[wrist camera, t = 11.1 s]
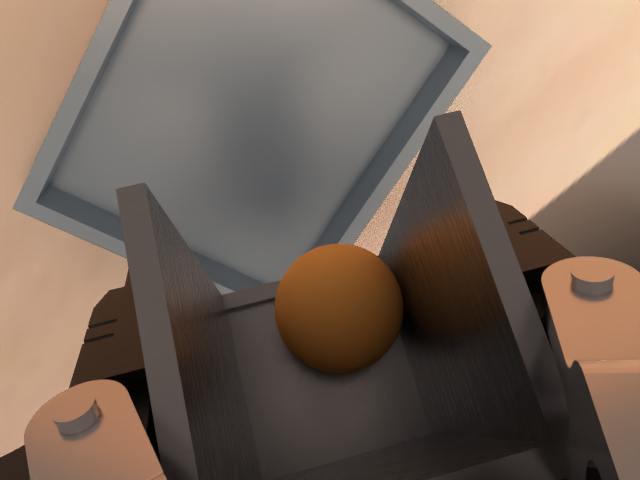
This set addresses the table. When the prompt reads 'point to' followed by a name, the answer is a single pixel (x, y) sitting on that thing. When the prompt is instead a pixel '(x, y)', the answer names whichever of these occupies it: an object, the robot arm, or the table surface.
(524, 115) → the table surface
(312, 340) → the ball
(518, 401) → the open box
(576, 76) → the table surface
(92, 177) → the tray
